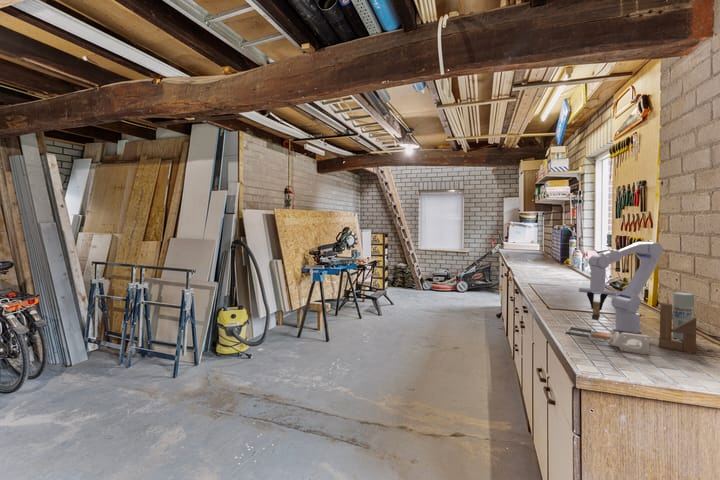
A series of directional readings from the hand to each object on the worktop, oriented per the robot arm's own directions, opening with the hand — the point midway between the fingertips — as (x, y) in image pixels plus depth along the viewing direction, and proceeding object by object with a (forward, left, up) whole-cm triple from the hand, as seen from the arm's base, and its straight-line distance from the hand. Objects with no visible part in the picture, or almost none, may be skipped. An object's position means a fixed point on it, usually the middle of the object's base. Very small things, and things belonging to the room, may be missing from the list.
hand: (596, 309), depth 160 cm
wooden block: (-27, +9, -11) cm, 31 cm away
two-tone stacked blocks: (0, 0, -4) cm, 4 cm away
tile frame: (+6, +8, -10) cm, 14 cm away
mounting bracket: (-12, +23, -11) cm, 28 cm away
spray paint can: (-30, -9, -11) cm, 34 cm away
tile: (-3, +8, -11) cm, 14 cm away
